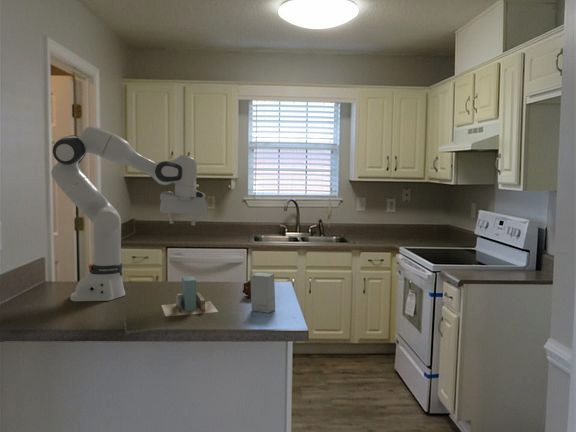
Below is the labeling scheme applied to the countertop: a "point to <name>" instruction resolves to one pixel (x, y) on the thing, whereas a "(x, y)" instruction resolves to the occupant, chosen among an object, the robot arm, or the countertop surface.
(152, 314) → the countertop surface
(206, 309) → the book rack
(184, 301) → the book
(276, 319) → the countertop surface
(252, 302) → the skincare box
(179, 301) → the metal bookend
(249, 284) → the dragon fruit
